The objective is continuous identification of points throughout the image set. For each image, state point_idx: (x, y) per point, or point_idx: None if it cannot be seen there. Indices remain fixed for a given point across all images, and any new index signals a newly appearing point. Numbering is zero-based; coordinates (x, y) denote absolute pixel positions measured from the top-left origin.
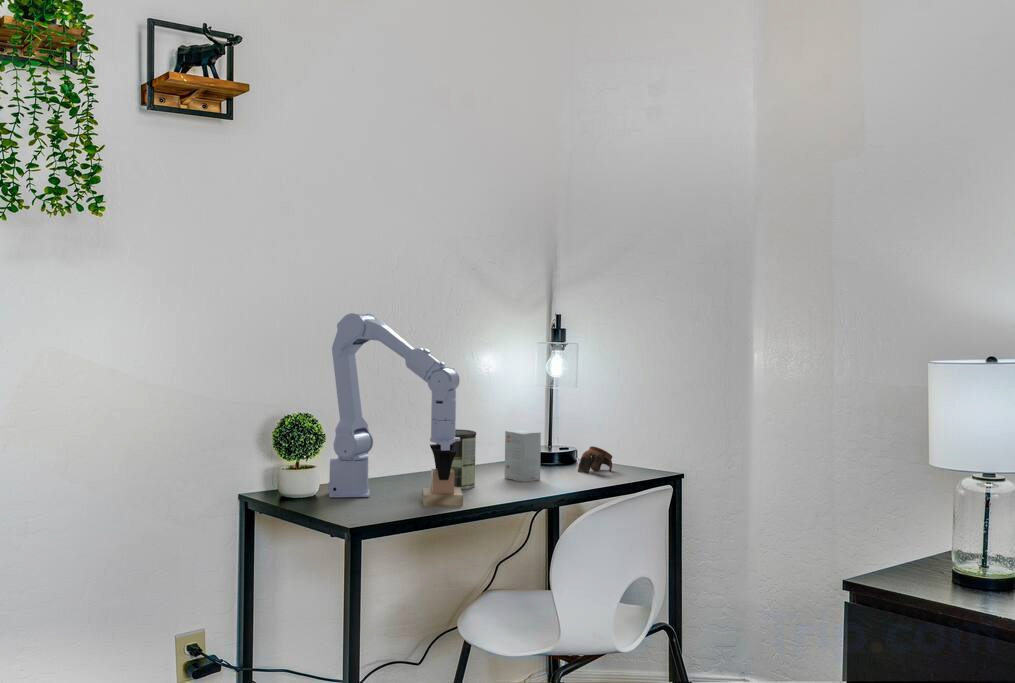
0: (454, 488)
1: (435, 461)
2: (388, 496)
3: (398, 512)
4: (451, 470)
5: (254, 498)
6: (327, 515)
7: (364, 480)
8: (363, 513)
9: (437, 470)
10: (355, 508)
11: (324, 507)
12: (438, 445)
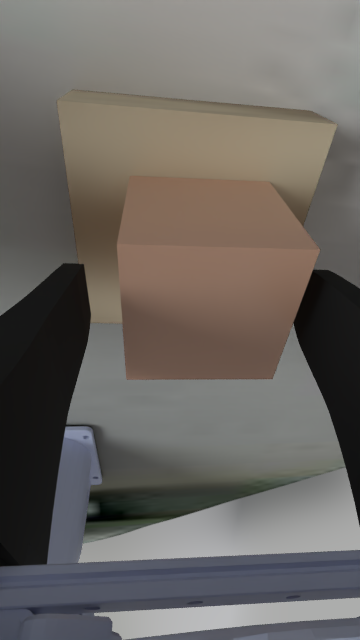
0: (90, 152)
1: (70, 398)
2: None
3: None
4: (226, 264)
5: (104, 538)
6: (289, 470)
7: (61, 482)
8: (298, 427)
9: (204, 354)
10: (232, 440)
11: (205, 477)
12: (23, 556)
